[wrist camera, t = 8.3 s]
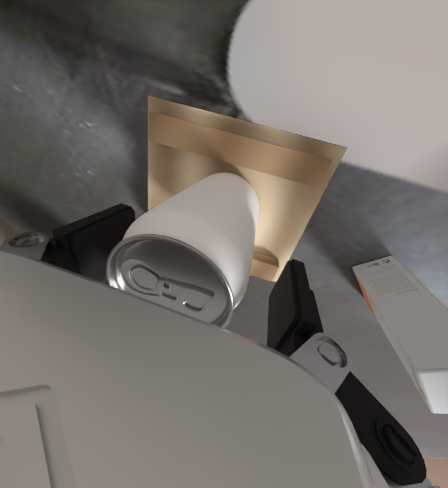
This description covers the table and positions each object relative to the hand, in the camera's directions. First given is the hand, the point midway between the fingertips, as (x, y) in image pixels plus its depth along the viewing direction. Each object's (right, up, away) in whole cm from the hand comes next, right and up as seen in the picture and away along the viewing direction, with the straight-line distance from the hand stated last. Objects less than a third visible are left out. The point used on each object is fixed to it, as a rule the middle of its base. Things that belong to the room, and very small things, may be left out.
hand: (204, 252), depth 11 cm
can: (+1, +4, +7) cm, 8 cm away
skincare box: (+20, -4, +12) cm, 23 cm away
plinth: (+2, +6, +10) cm, 12 cm away
